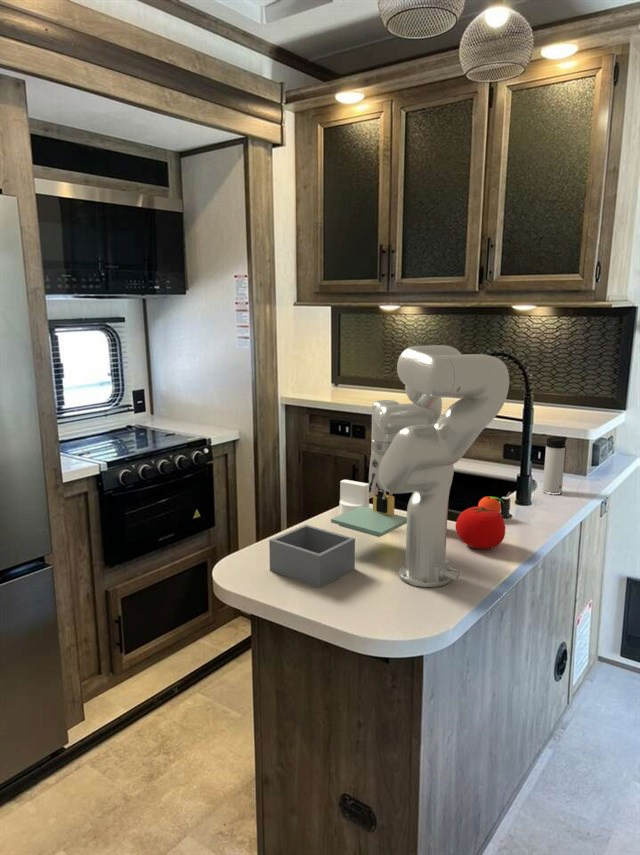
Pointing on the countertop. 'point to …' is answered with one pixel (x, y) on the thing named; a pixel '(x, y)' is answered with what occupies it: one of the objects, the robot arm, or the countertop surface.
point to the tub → (312, 555)
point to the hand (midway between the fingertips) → (383, 510)
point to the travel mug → (554, 464)
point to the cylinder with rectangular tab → (353, 495)
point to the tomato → (480, 527)
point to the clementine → (490, 503)
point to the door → (371, 519)
